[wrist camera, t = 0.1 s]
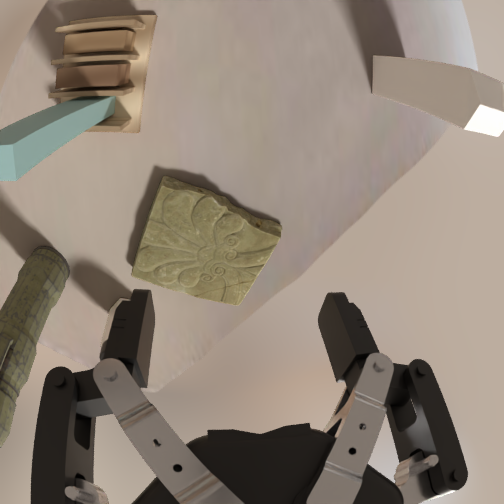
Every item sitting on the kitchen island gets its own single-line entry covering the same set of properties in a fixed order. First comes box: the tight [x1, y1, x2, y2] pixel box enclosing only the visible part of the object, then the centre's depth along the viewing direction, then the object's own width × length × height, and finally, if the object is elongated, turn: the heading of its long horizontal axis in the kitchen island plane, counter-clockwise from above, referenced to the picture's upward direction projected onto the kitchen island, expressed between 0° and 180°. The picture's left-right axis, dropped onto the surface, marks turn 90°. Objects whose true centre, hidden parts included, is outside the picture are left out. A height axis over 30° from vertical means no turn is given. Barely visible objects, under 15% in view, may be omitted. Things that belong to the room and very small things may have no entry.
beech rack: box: [48, 15, 157, 133], centre depth 26 cm, size 16×12×6 cm
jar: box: [100, 298, 131, 361], centre depth 49 cm, size 9×8×12 cm
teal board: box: [0, 96, 116, 181], centre depth 21 cm, size 2×5×22 cm, turn 78°
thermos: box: [0, 246, 70, 448], centre depth 31 cm, size 9×12×35 cm
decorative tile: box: [131, 176, 282, 305], centre depth 45 cm, size 19×20×4 cm
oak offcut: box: [63, 30, 136, 55], centre depth 24 cm, size 2×8×4 cm, turn 78°
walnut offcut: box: [55, 64, 131, 89], centre depth 26 cm, size 2×8×5 cm, turn 78°
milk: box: [372, 55, 504, 137], centre depth 24 cm, size 6×6×22 cm
